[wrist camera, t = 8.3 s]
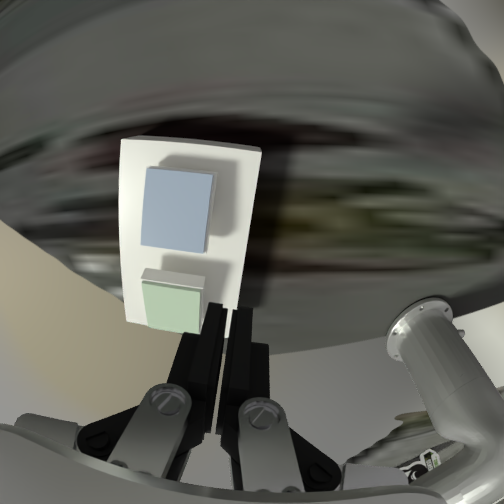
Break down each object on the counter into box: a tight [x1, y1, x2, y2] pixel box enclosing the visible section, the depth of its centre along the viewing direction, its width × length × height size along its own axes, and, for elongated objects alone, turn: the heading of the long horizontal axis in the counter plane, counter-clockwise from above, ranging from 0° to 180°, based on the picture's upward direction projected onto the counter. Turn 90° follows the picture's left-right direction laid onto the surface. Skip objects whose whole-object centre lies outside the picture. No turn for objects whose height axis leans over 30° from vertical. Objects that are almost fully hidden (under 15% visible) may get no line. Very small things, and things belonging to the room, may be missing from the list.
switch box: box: [119, 135, 262, 338], centre depth 30 cm, size 13×21×6 cm, turn 171°
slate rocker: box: [140, 166, 218, 255], centre depth 24 cm, size 6×7×2 cm
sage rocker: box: [140, 268, 205, 334], centre depth 29 cm, size 6×7×2 cm
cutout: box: [399, 449, 441, 485], centre depth 63 cm, size 15×3×25 cm
